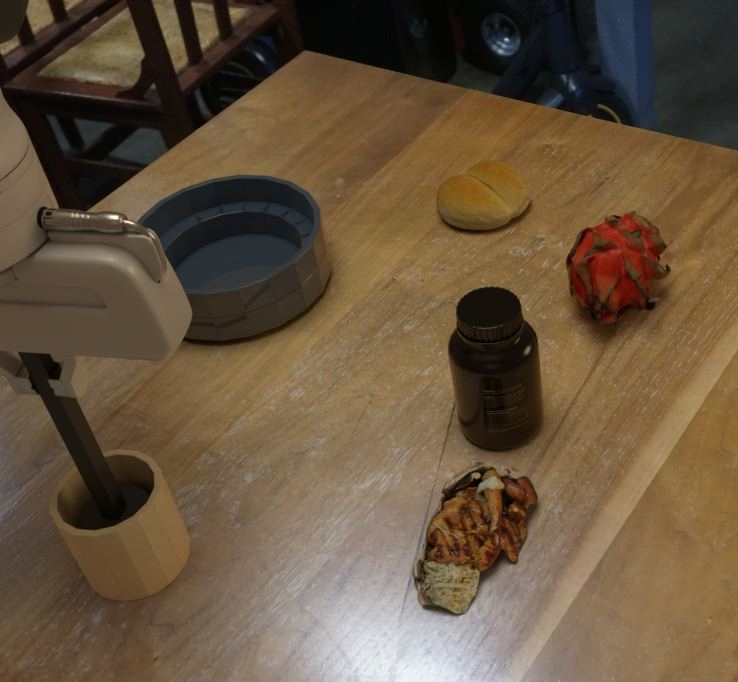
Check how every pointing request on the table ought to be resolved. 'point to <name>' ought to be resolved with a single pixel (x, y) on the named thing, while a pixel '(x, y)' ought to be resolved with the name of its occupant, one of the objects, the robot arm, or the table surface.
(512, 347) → the supplement bottle
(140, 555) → the crock
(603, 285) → the dragon fruit
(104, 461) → the long black rod
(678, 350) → the table surface
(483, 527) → the brown food piece
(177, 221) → the bowl
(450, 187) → the bread roll
